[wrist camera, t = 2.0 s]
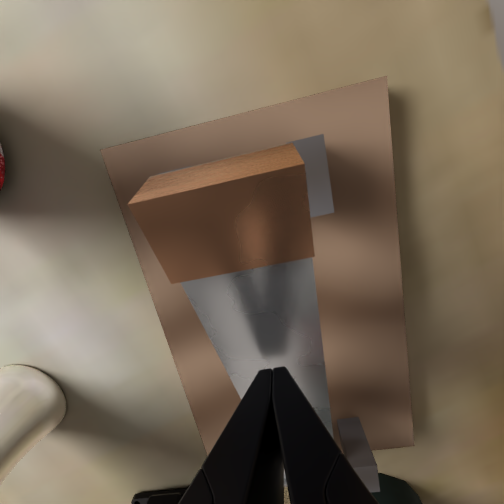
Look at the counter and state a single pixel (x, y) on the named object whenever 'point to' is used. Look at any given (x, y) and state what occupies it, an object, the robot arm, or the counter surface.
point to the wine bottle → (395, 491)
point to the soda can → (2, 167)
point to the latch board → (325, 261)
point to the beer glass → (26, 412)
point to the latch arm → (244, 262)
